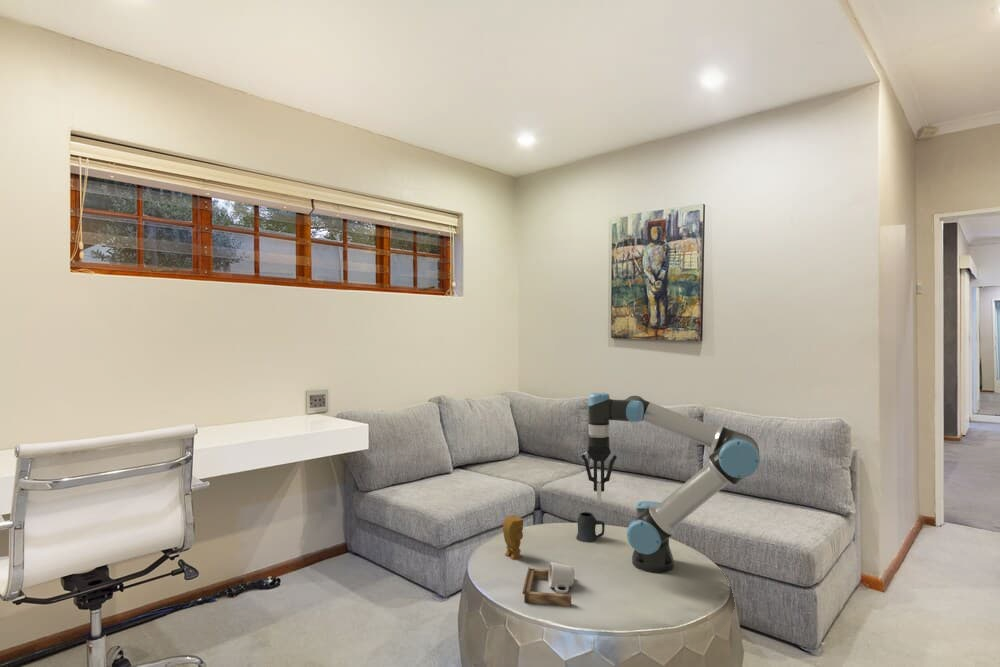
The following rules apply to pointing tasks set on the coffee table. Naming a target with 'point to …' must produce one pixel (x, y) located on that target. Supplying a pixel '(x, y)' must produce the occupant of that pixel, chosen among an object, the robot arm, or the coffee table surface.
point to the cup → (560, 577)
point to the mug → (588, 527)
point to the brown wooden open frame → (540, 596)
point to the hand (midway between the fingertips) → (598, 500)
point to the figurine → (513, 535)
